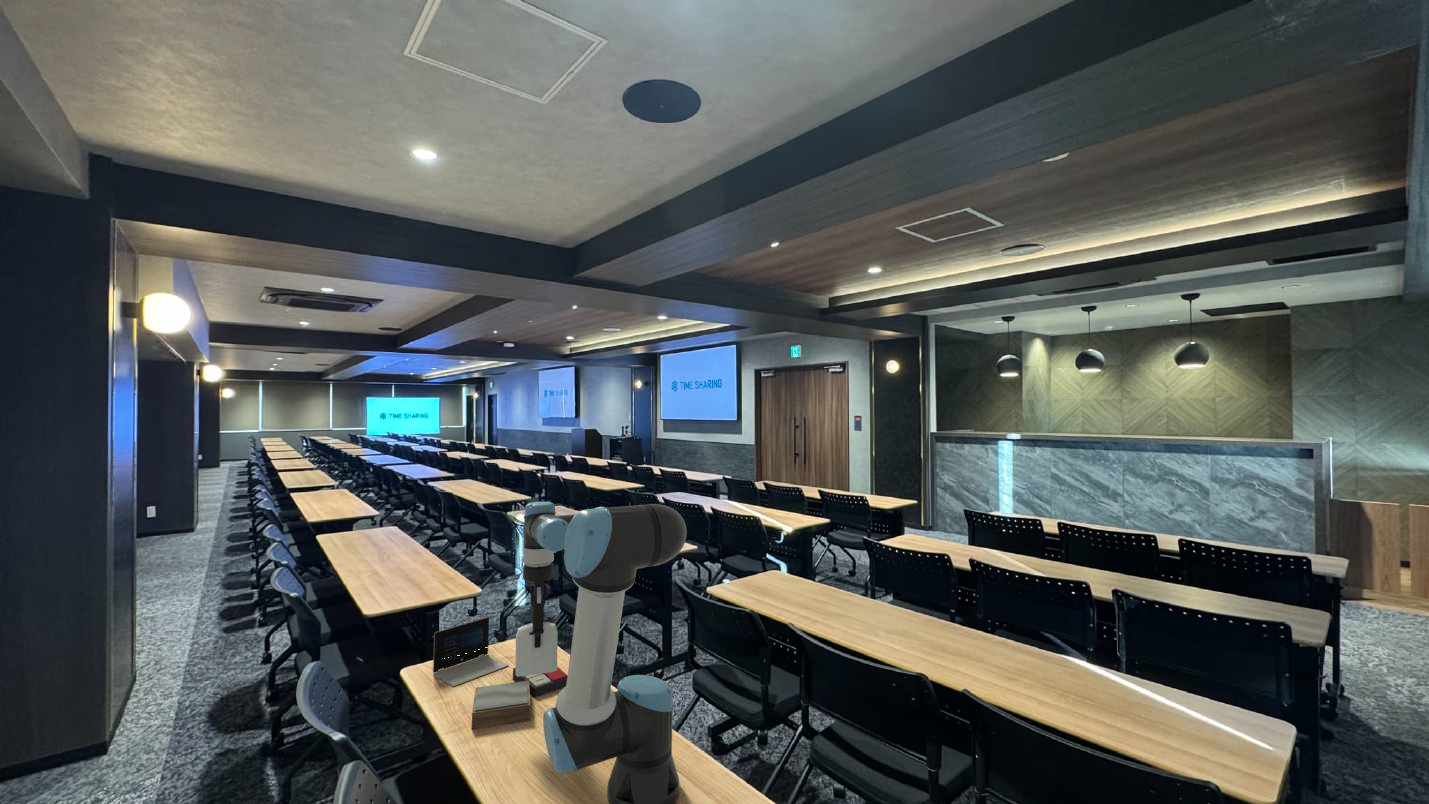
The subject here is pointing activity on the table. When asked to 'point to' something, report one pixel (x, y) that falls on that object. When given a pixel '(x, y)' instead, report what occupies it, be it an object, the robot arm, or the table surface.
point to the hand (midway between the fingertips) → (536, 655)
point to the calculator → (543, 682)
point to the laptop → (460, 643)
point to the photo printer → (524, 651)
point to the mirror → (501, 704)
